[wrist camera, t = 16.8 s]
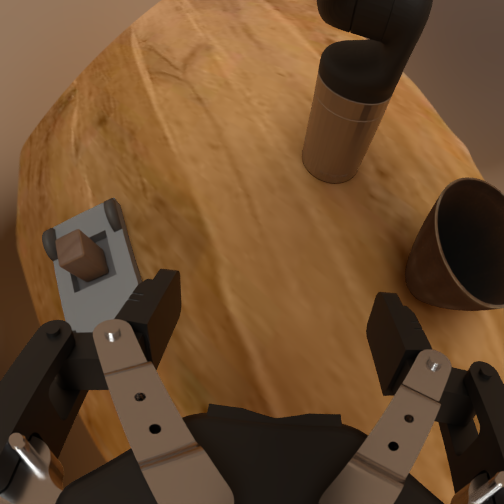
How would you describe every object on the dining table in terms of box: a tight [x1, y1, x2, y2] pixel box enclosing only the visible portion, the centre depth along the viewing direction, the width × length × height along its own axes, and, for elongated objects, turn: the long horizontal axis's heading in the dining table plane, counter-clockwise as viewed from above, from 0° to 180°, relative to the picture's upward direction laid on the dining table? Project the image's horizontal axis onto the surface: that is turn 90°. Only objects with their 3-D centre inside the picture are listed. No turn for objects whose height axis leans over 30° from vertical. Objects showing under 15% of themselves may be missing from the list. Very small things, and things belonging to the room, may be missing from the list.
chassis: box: [42, 198, 142, 333], centre depth 40 cm, size 22×12×5 cm, turn 24°
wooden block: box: [55, 229, 108, 282], centre depth 39 cm, size 4×4×8 cm
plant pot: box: [405, 178, 504, 311], centre depth 35 cm, size 15×15×16 cm
